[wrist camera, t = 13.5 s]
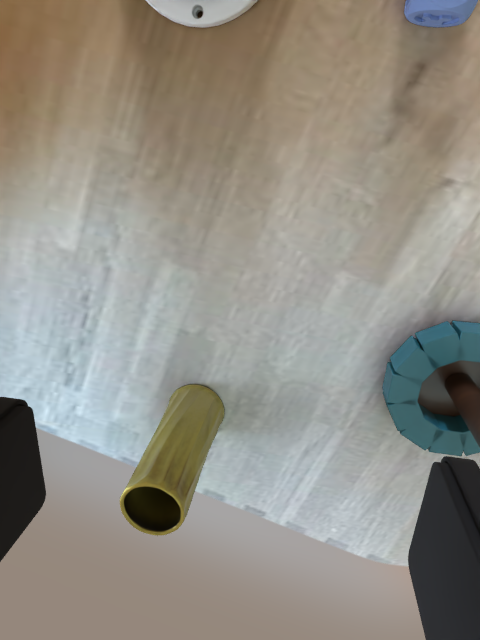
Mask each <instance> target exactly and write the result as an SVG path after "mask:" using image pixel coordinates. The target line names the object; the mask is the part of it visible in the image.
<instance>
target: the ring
mask: <svg viewBox="0 0 480 640" xmlns="http://www.w3.org/2000/svg"><path fill="white" fill-rule="evenodd" d="M415 335H416V338H417V339H416V338H414V337H413V336H410V337H409V338H408V339H407V340H406V341H405V342H404V343H403V345H402V346H401V347H400V348H399V349H398V350H397V351H396V352H395V353H394V354H393V355H392V356H391V357H390V360H391V362H388V363H387V368H386V373H385V377H384V382H383V387H382V388H383V395H384V398H385V401H386V405H387V407H388V410H389V412H390V414H391V416H392V419H393V421H394V423H395V426H396V428H397V430H398V431H400V434H401V435H403V436H404V437H406V438H407V439H409V440H410V441H412V442H413V443H415V444H416V445H418V446H419V447H421V448H422V449H424V450H426V449H428V450H429V452H434V453H441V454H448V455H456V456H462V453H463V451H464V453H465V455H466V456H468V455H472V454H475V453H479V452H480V448H479V446H478V444H477V442H476V441H475V439H474V437H473V435H472V434H471V432H470V430H469V429H468V427H467V425H466V423H465V422H464V420H463V418H462V416H461V415H457V416H447V415H439V414H433V413H432V412H430V411H429V410H427V409H426V408H424V407H423V406H421V405H420V404H419V403H418V397H419V393H420V389H421V385H422V382H423V381H425V380H426V379H427V378H428V377H429V376H430V375H431V374H432V373H433V372H434V371H435V370H436V369H437V368H438V367H441V366H444V365H447V364H450V363H453V362H456V361H459V360H464V361H472V362H480V323H471V322H461V321H452V324H451V325H450V324H449V322H448V321H447V322H444V323H441V324H438V325H436V326H433V327H430V328H427V329H424V330H422V331H419V332H416V333H415Z"/></svg>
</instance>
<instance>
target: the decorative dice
mask: <svg viewBox="0 0 480 640" xmlns="http://www.w3.org/2000/svg"><path fill="white" fill-rule="evenodd" d="M477 1H478V0H406V3H405V10H404V14H405V16H406V18H407V20H408V21H410V22H411V23H414V24H417V25H421V26H427V27H451V26H456V25H459V24H462V23H463V22H465V21H466V20H467V19H468V18H469V17H470V15H471V13H472V12H473V10H474V8H475V6H476V4H477Z"/></svg>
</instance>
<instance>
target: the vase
mask: <svg viewBox="0 0 480 640" xmlns="http://www.w3.org/2000/svg"><path fill="white" fill-rule="evenodd" d="M223 419H224V406H223V404H222V401H221V400H220V398H219V397H218V395H217V394H216V393H215V392H213V391H212V390H210V389H209V388H207V387H204V386H201V385H186V386H183V387H181V388H179V389H177V390H176V391H175V392H174V393H173V395H172V396H171V398H170V400H169V404H168V407H167V409H166V411H165V413H164V415H163V417H162V419H161V421H160V424H159V426H158V428H157V430H156V432H155V433H154V435H153V437H152V439H151V441H150V443H149V445H148V447H147V448H146V450H145V452H144V454H143V456H142V458H141V460H140V462H139V464H138V466H137V468H136V469H135V471H134V473H133V475H132V477H131V479H130V481H129V483H128V485H127V487H126V488H125V490H124V492H123V494H122V496H121V498H120V507H121V511H122V513H123V515H124V517H125V518H126V520H127V521H128V522H129V523H130V524H131V525H132V526H133V527H135V528H136V529H138V530H139V531H141V532H144V533H148V534H152V535H165V534H168V533H171V532H173V531H175V530H177V529H178V528H179V527H180V526H181V524H182V523H183V521H184V519H185V517H186V515H187V512H188V510H189V507H190V504H191V501H192V497H193V494H194V492H195V489H196V486H197V483H198V480H199V477H200V474H201V471H202V468H203V465H204V463H205V460H206V457H207V454H208V451H209V449H210V447H211V445H212V442H213V440H214V438H215V436H216V433H217V431H218V428H219V426H220V424H221V423H222V421H223Z"/></svg>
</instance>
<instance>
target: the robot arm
mask: <svg viewBox="0 0 480 640" xmlns="http://www.w3.org/2000/svg"><path fill="white" fill-rule="evenodd" d="M146 1H147V2H148V3H149V4H150V5H151V6H152V7H153V8H154V9H155V10H156V11H158V12H159V13H160V14H161V15H163V16H165V17H166V18H168V19H170V20H172V21H173V22H176V23H179V24H182V25H185V26H189V27H201V28H206V27H212V26H218V25H221V24H224V23H226V22H229V21H231V20H234V19H236V18H237V17H239V16H240V15H242V14H243V13H245V12H246V11H248V10H249V9H250V8H251V7H252V6H253V5H254V4H255V3H256V2H257V1H258V0H146ZM199 12H203V16H202V17H201V18H198V16H197V15H198V13H199ZM45 496H46V490H45V483H44V477H43V472H42V465H41V458H40V452H39V446H38V440H37V433H36V427H35V420H34V414H33V410H32V408H31V407H28V405H27V403H26V401H24V400H21V399H14V398H6V397H0V561H1V560H2V559H3V557H4V556H5V555H6V553H7V552H8V551H9V549H10V548H11V547H12V546H13V544H14V543H15V542H16V540H17V539H18V538H19V536H20V535H21V534H22V533H23V531H24V530H25V529H26V527H27V526H28V525H29V523H30V522H31V521H32V519H33V518H34V517H35V515H36V514H37V513H38V511H39V510H40V509H41V507H42V505H43V503H44V501H45ZM408 563H409V570H410V575H411V579H412V583H413V587H414V591H415V596H416V600H417V604H418V608H419V612H420V616H421V621H422V625H423V629H424V633H425V638H426V640H480V468H479V467H478V465H477V463H476V462H475V461H474V460H470V459H462V458H455V457H447V456H446V457H443V459H442V461H441V463H440V462H434V463H433V465H432V468H431V471H430V475H429V479H428V483H427V486H426V490H425V494H424V497H423V501H422V505H421V509H420V512H419V516H418V520H417V523H416V527H415V531H414V535H413V538H412V542H411V546H410V549H409V556H408Z"/></svg>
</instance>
